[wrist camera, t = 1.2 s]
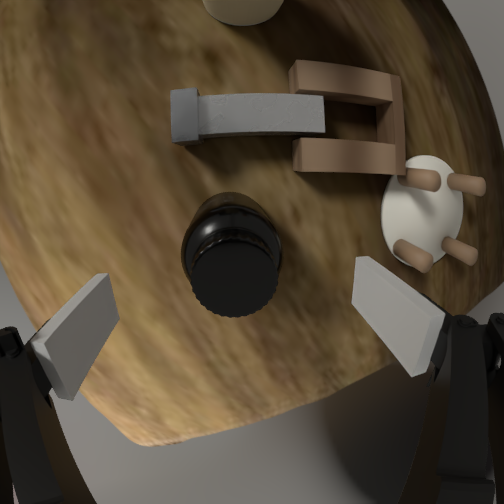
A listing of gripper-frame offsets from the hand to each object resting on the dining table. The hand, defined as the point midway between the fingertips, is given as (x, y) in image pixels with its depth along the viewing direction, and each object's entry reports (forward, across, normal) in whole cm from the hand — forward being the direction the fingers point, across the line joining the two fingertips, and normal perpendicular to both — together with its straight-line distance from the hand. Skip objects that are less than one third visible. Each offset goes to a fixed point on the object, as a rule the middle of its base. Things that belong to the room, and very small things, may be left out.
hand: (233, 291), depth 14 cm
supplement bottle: (+13, 0, 0) cm, 13 cm away
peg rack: (+13, +22, +1) cm, 25 cm away
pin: (+12, +2, +10) cm, 16 cm away
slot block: (+13, +11, +10) cm, 20 cm away
